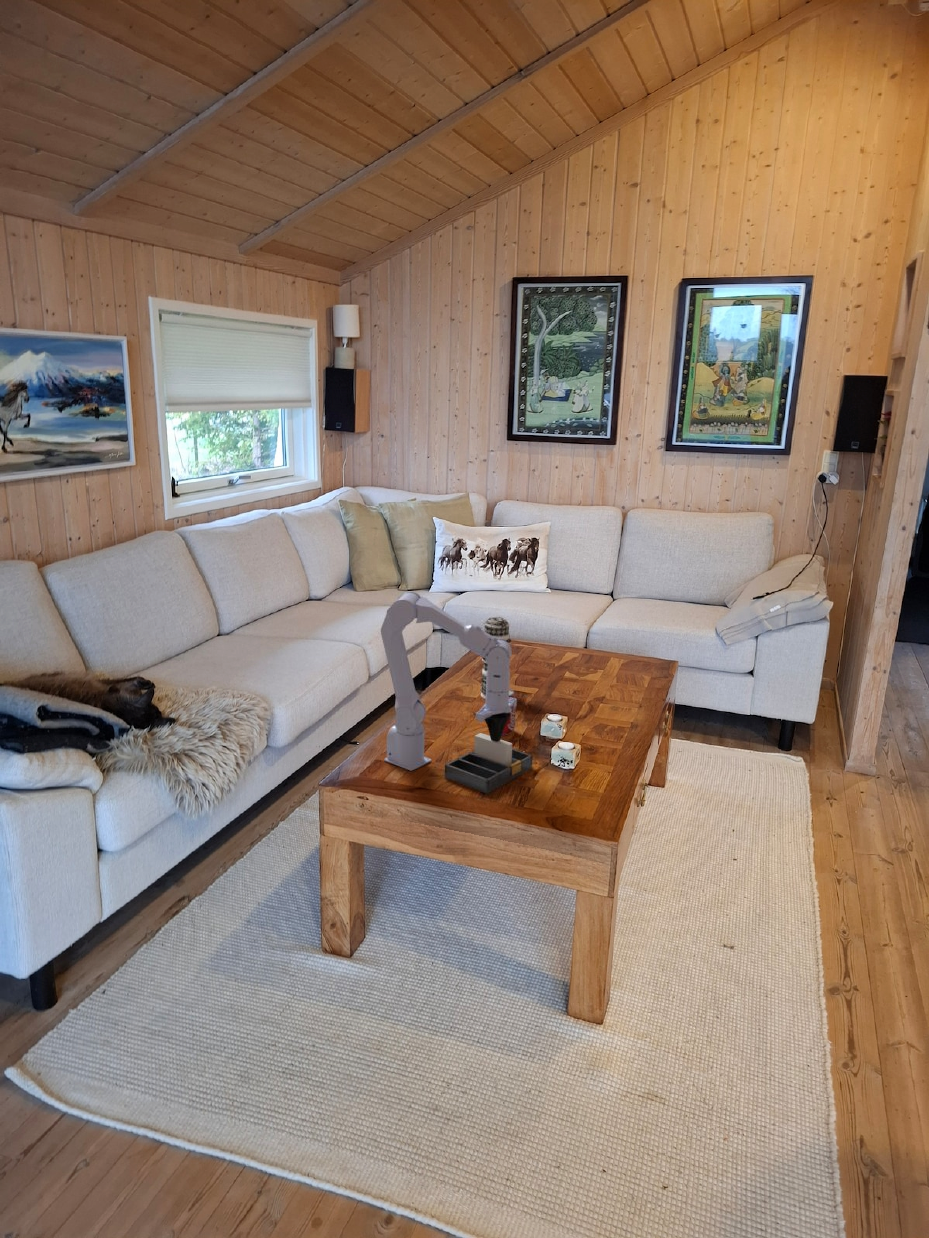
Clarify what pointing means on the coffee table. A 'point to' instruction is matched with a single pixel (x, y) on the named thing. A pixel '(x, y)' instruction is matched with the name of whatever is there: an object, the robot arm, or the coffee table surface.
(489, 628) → the decorative candle
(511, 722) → the soda can
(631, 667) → the coffee table surface
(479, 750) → the panel
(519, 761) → the rack
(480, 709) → the robot arm
